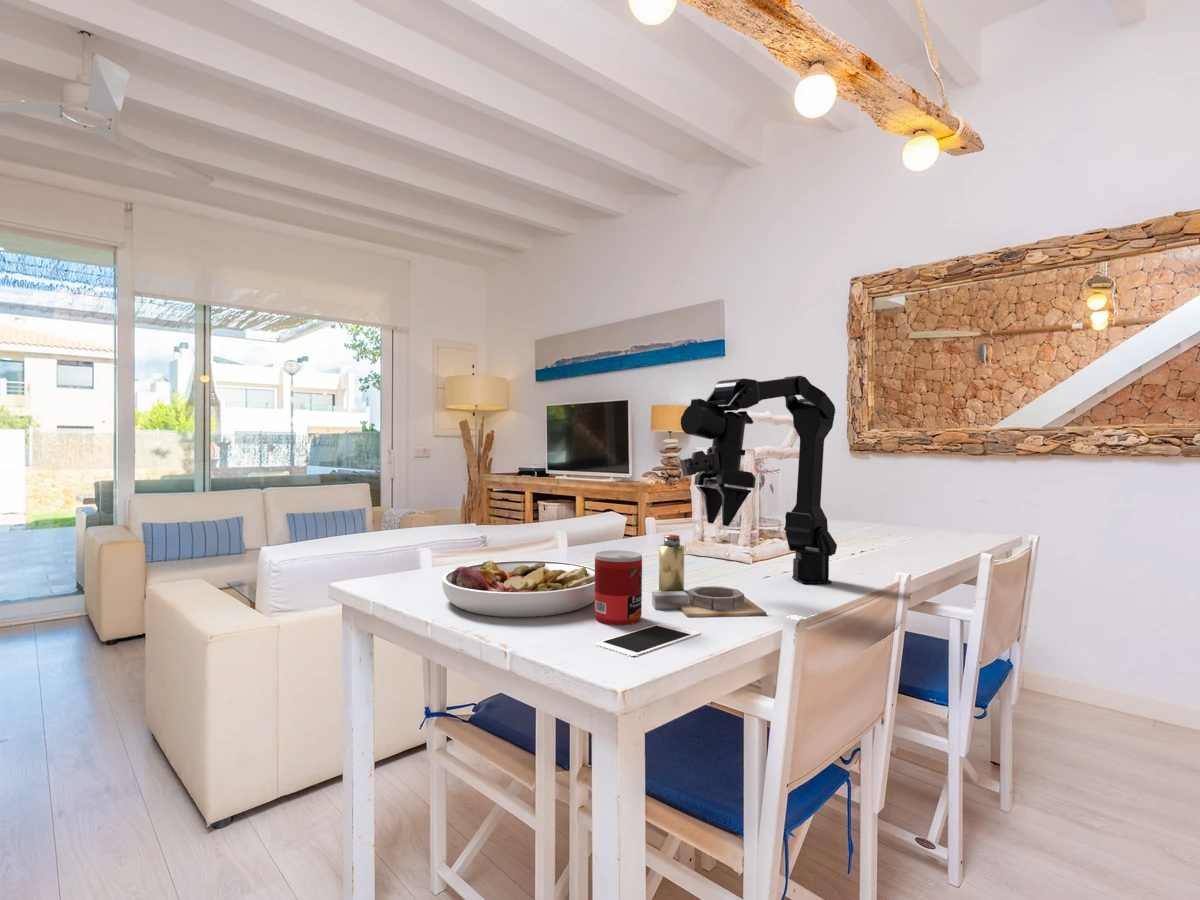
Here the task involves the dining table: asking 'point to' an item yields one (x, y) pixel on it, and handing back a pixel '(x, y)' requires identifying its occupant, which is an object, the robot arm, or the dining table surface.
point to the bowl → (520, 588)
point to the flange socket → (707, 602)
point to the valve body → (671, 564)
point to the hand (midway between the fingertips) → (717, 524)
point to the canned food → (618, 587)
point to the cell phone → (647, 639)
